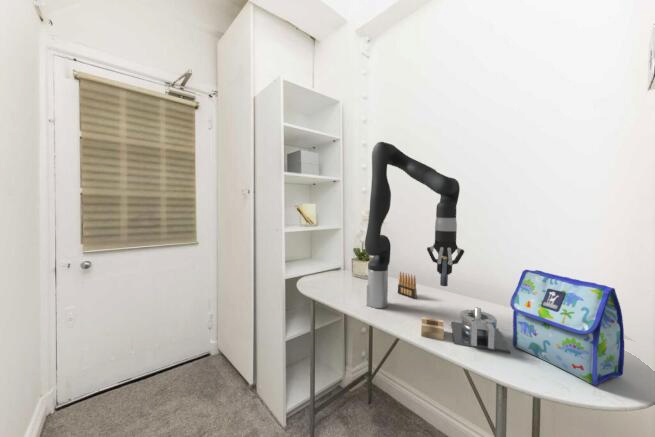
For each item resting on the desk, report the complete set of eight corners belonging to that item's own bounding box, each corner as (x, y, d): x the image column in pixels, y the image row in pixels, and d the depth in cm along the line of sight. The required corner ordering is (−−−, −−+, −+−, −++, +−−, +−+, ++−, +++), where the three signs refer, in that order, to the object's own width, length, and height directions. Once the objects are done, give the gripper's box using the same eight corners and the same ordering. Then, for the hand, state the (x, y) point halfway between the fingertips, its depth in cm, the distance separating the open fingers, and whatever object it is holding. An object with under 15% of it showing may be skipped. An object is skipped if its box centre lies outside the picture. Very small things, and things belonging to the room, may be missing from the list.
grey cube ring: (463, 343, 85) (464, 323, 85) (458, 324, 99) (459, 306, 99) (502, 350, 81) (502, 328, 81) (491, 329, 95) (492, 311, 95)
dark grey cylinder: (440, 285, 99) (441, 255, 99) (439, 283, 102) (440, 253, 101) (447, 286, 98) (448, 255, 98) (447, 284, 101) (448, 254, 100)
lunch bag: (504, 348, 85) (507, 270, 84) (537, 338, 91) (540, 266, 90) (593, 393, 65) (598, 291, 63) (627, 377, 71) (632, 284, 69)
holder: (421, 336, 93) (421, 325, 93) (421, 327, 100) (422, 317, 100) (443, 340, 90) (443, 328, 90) (442, 330, 97) (442, 320, 97)
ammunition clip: (416, 298, 131) (417, 275, 130) (414, 299, 130) (414, 275, 129) (399, 292, 140) (400, 270, 139) (397, 293, 139) (397, 271, 138)
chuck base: (454, 343, 88) (455, 313, 87) (450, 323, 103) (451, 298, 102) (510, 353, 82) (511, 321, 81) (497, 331, 97) (498, 303, 96)
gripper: (426, 229, 98) (425, 274, 99) (467, 231, 93) (465, 278, 94) (426, 227, 105) (425, 269, 106) (464, 229, 100) (463, 273, 101)
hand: (444, 273), depth 100 cm, fingers closed on dark grey cylinder, 2 cm apart
